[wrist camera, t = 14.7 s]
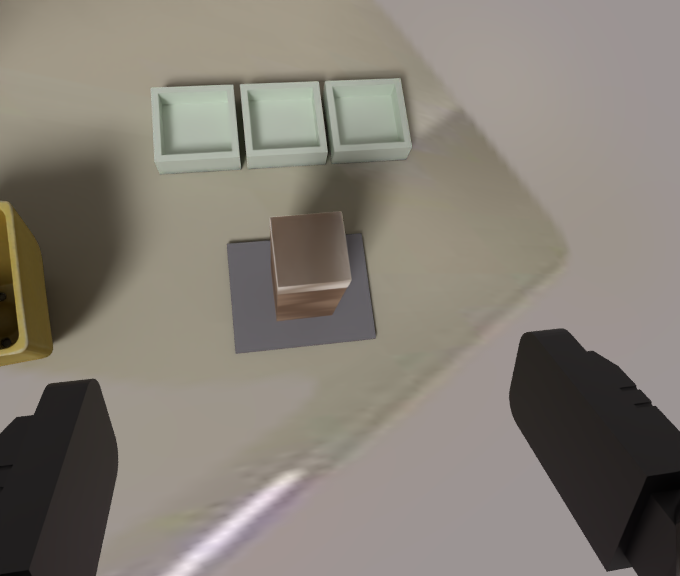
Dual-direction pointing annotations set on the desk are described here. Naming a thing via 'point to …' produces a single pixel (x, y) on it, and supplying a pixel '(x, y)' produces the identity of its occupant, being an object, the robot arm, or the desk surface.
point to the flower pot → (22, 292)
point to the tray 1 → (195, 129)
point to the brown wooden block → (308, 264)
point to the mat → (269, 334)
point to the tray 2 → (283, 124)
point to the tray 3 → (366, 120)
